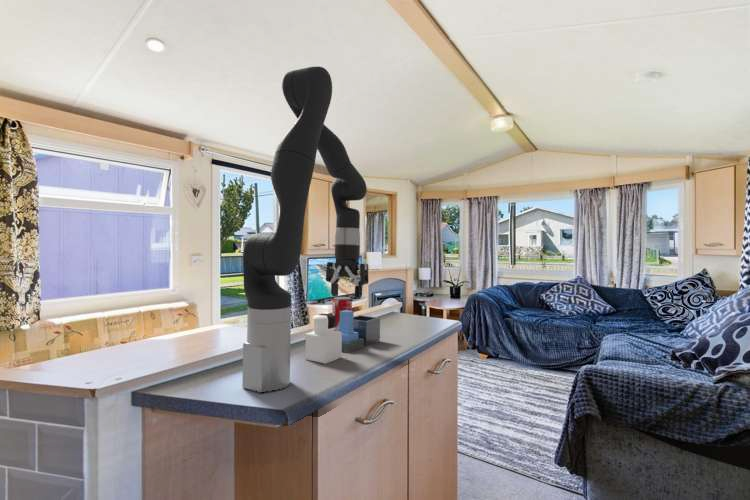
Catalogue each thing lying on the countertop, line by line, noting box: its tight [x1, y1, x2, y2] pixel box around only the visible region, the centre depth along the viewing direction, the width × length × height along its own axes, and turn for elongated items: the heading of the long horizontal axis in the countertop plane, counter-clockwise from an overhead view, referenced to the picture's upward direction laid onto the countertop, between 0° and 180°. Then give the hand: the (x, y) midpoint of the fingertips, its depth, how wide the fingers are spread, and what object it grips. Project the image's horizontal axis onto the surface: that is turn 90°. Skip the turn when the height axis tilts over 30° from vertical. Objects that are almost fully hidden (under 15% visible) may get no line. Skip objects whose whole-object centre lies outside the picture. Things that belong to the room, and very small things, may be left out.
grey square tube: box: [353, 314, 381, 347], centre depth 124 cm, size 8×8×8 cm
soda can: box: [331, 296, 353, 332], centre depth 139 cm, size 7×7×12 cm
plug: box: [340, 310, 358, 343], centre depth 116 cm, size 5×5×10 cm
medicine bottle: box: [304, 313, 342, 365], centre depth 105 cm, size 7×7×12 cm
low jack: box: [341, 338, 365, 354], centre depth 116 cm, size 8×8×2 cm
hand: (346, 297), depth 116 cm, fingers open, 8 cm apart
